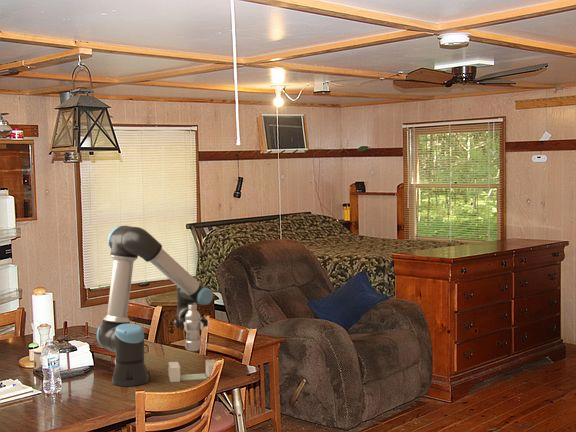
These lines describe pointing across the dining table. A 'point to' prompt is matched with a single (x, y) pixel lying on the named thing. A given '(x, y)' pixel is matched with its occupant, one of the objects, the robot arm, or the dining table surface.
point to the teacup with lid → (37, 357)
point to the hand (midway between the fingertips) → (194, 327)
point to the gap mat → (193, 377)
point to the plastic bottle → (192, 328)
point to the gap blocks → (175, 370)
